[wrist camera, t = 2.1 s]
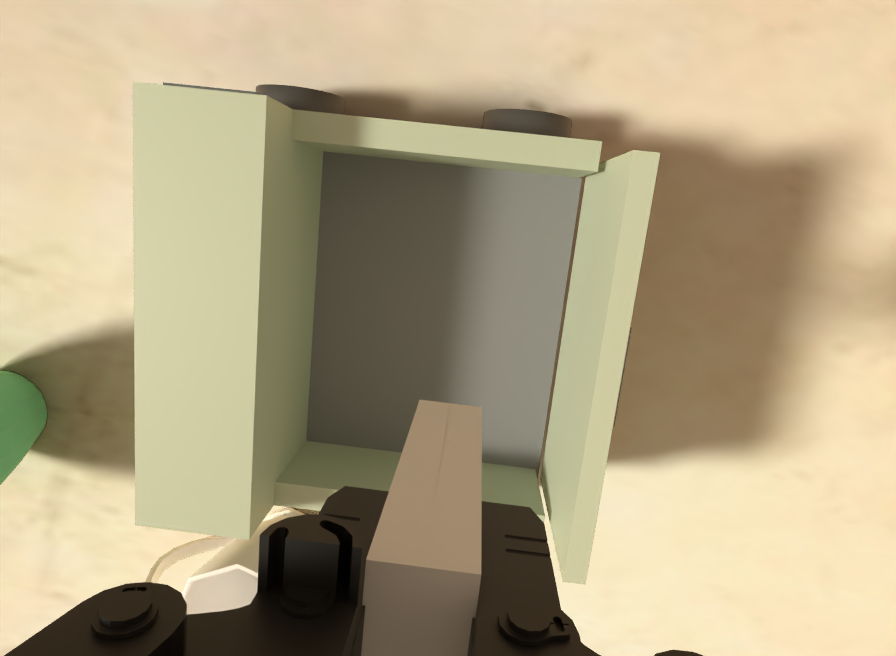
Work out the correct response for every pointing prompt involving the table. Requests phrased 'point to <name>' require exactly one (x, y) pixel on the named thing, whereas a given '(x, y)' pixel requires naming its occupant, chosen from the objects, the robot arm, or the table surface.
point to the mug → (18, 419)
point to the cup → (221, 569)
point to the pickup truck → (337, 295)
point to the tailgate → (594, 350)
